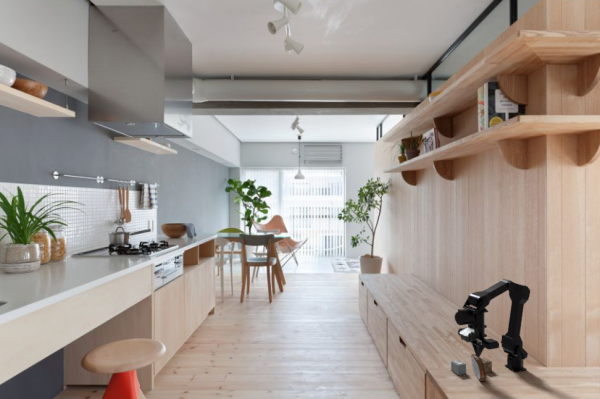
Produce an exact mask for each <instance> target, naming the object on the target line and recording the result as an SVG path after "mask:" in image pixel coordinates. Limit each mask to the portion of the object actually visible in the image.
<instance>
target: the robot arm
mask: <svg viewBox="0 0 600 399" xmlns="http://www.w3.org/2000/svg"><path fill="white" fill-rule="evenodd" d="M507 291H508V297H509V298H510V301H511V304H510V312H509V318H508V327H507V332H506V333H505V334H502V335H501V341H500V342H499V341H498V340H496V339H495V338H487V337H488V335H487V333H486V331H485V329H487V328H488V325H487V324H485V313H488V312H489V310H488V309H487V307H488V306H489V305H490V302H491V301H492V300H493V299H495V298H497V297H499V296H500V295H502V294H505V292H507ZM530 295H531V289H530V288H529V286H527V285H523V284H520V283H516V282H514V281H512V280H510V279H505V278H502V279H500V281H498V282H497V283H494V284H493V285H490V286H489V287H487V288H486V289H483V290H479V291H475V292H471V293H470V294H468V295H467V299H466V301H465V302H464V304H463V306H462V308H459V309H458V308H457V312H455V314H454V320H455V323H456V324H457V325H458V326H465V325H467V327H463V328H462V327H460V328H459V329H458V330H457V335H458V336H459V337H460V339H461V340H463V342H466V343H470V344H471V346H472V348H473V350H474V354H476V356H477V357H480V358H481V355H482V353H483V351H485V350H484V349H487V350H495V349H499V348H500V345H501V348H502V349H503V353H504V354H505V353H506V356H507V358H506V364H504V367H506V368H507V369H510V370H512V371H513V372H516V373H519V372H522V371H523V372H524V371H526V370H527V368H526V367H524V360H526V359H527V358H528V351H526V350H525V349H524V348H523V346H524V344H523V343H524V342H523V340H522V337H521V331H522V330H521V329H522V321H523V313H524V307H525V304H526V303H527V302H528V301H529V299H530Z"/></svg>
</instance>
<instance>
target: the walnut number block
mask: <svg viewBox="0 0 600 399" xmlns="http://www.w3.org/2000/svg"><path fill="white" fill-rule="evenodd" d="M480 358H481V360H482V361H483V363H484V366H485V369H486V373H488V372H492V371H493V361H492V360H490V359H488V358H486V357H480Z"/></svg>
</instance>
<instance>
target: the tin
mask: <svg viewBox="0 0 600 399" xmlns="http://www.w3.org/2000/svg"><path fill="white" fill-rule="evenodd" d="M470 358H471V367H472V370H473V372H474V375H475V376H476V378H477V380H478V381H480V382H486V381H487V372H486V369H485V366H484V363H483V361H482V360H481V358H482V357H481V356H480V357H477V356H476V354H475V353H471V356H470Z"/></svg>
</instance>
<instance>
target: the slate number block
mask: <svg viewBox="0 0 600 399" xmlns="http://www.w3.org/2000/svg"><path fill="white" fill-rule="evenodd" d="M450 371H451V372H452V373H454V374H455V375H458V376H461V375H465V374H467V364H466V363H465V362H464V361H461V360H460V359H455V360H451V362H450Z"/></svg>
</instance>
